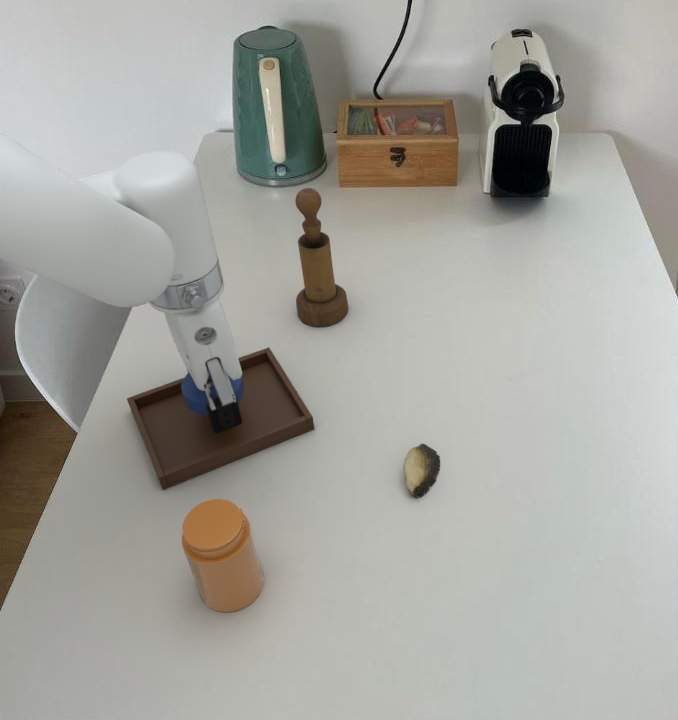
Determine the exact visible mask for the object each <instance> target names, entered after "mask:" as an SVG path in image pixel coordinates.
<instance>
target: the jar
mask: <svg viewBox="0 0 678 720" xmlns="http://www.w3.org/2000/svg"><path fill="white" fill-rule="evenodd" d="M181 526H182V527H181V530H182V532H181V533H182V535H181V547H182V549H183V552H184V554H185V555H184V556H185V558H186V560H187V563H188V566H189V568H190V570H191V573H192V576H193V579H194V581H195V584H196V587H197V589H198V592H199V594H200V597H201V599H202V601H203V602H204V604H205V605H206V606H207V607H208V608H210V609H211V610H213V611H216V612H220V613H233V612H238V611H241V610H244V609H245V608H247V607H248V606H250V605H251V604H253V603H254V602H255V601H256V599H257V598H258V597H259V596H260V594H261V593H262V590H263V588H264V583H265V575H264V571H263V568H262V564H261V560H260V557H259V552H258V549H257V546H256V545H257V544H256V542H255V538H254V535H253V531H252V527H251V524H250V520H249V518H248V517H247V516H246V514H244V511H243V510H242V508H240V507H239V506H238V505H237V504H236V503H234V502H233V501H230V500H229V499H228V500H227V499H223V498H214V499H209V500H205V501H202V502H201V503H199V504H197V505H195V506H194V507H193V508H191V510H190V511H189V512H188V513H187V514H186V516H185V517H184V519H183V522H182V525H181Z"/></svg>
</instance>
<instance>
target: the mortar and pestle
mask: <svg viewBox="0 0 678 720" xmlns="http://www.w3.org/2000/svg"><path fill="white" fill-rule="evenodd" d="M295 206H296V208H297V210H298V211H299V212H300V213H301V215H302V216H303V218H304V220H303V222H302V223H301V227H302V230H303V232H304V233H303V234H302V235H300V236H299V238H298V240H297V246H298V252H299V258H300V266H301V272H302V278H303V279H302V280H303V286H304V288H302V289H301V290H300V291H299V292H298V294H297V296H296V299H295V303H296V305H295V306H296V311H297V312H296V313H297V316H298V318H299V320H300V321H301V322H303V323H304V324H306V325H309V326H312V327H327V326H332V325H335V324H336V323H338V322H340V321H342V320H343V319H344V318H345V317H346V315H347V314H348V311H349V303H348V296H347V292H346V290H345V289H344V288H343V287H342V286H341V285H338V284H336V282H335V281H336V279H335V274H334V273H335V272H334V265H333V258H332V250H331V240H330V236H329V235H328V234H327V233H325V232H323V231H322V222H321V220H320V219H318V213H319V211H320V209H321V207H322V197H321V194H320V193H319V192H318V191H317V190H316V189H314V188H312V187H304V188H302V189H300V190H299V191H298V192H297V194H296V196H295Z"/></svg>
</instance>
